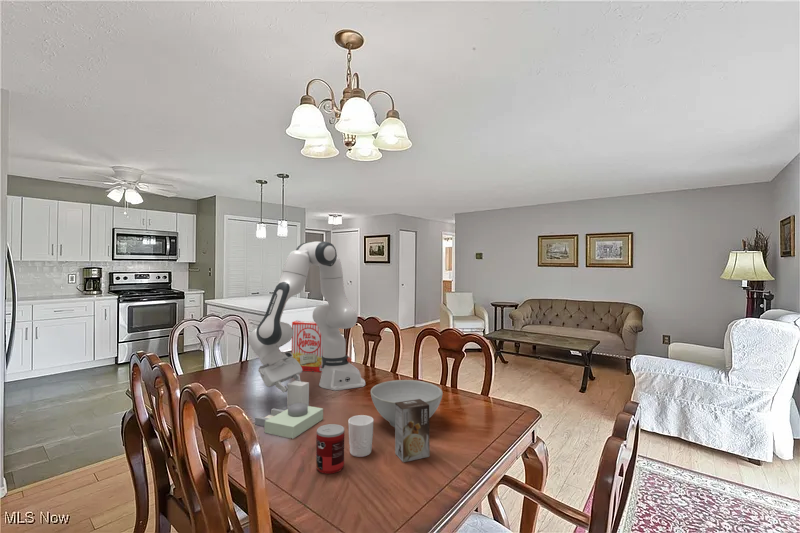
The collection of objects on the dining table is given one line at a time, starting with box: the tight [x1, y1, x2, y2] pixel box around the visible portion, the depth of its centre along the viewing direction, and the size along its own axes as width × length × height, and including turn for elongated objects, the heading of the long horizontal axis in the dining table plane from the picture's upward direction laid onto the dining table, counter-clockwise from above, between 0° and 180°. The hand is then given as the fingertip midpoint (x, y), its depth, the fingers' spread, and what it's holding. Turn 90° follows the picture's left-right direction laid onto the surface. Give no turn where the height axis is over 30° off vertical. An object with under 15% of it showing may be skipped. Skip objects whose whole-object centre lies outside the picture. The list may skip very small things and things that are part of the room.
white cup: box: [347, 414, 375, 458], centre depth 119 cm, size 8×8×10 cm
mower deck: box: [254, 403, 324, 440], centre depth 140 cm, size 21×18×6 cm
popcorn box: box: [291, 320, 323, 373], centre depth 212 cm, size 20×6×27 cm, turn 81°
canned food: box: [315, 423, 345, 475], centre depth 110 cm, size 8×8×11 cm
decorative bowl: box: [370, 379, 443, 428], centre depth 142 cm, size 27×27×12 cm
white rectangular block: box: [286, 380, 310, 410], centre depth 156 cm, size 7×5×10 cm
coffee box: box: [394, 399, 431, 463], centre depth 117 cm, size 9×6×16 cm
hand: (293, 387), depth 157 cm, fingers open, 8 cm apart
